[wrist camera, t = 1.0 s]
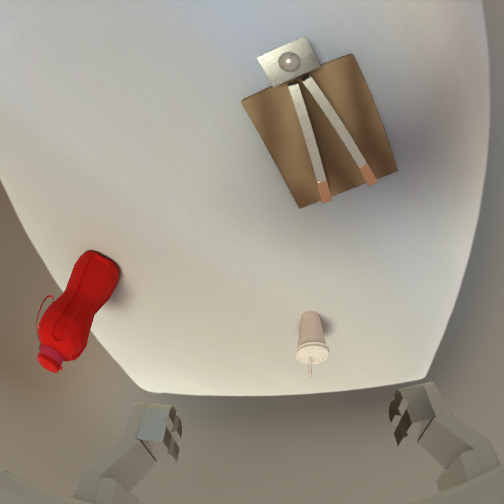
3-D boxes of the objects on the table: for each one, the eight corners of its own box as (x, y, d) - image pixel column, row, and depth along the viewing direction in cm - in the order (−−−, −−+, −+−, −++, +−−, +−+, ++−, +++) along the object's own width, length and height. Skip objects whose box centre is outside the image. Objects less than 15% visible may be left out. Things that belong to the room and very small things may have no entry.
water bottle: (78, 239, 56) (13, 335, 36) (124, 264, 59) (71, 370, 39) (72, 268, 61) (18, 358, 42) (115, 290, 64) (69, 388, 44)
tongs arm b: (286, 82, 35) (287, 86, 32) (296, 80, 35) (298, 83, 32) (319, 189, 44) (322, 203, 41) (327, 187, 44) (331, 200, 41)
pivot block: (301, 37, 33) (305, 36, 28) (315, 63, 35) (321, 67, 30) (259, 56, 35) (256, 58, 30) (274, 81, 37) (273, 87, 32)
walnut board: (350, 53, 33) (353, 54, 32) (394, 167, 43) (397, 171, 41) (242, 100, 39) (240, 101, 38) (298, 204, 48) (299, 208, 47)
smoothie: (290, 311, 63) (290, 370, 52) (320, 303, 61) (325, 362, 50) (300, 329, 66) (301, 386, 55) (329, 322, 64) (334, 379, 53)
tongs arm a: (300, 78, 35) (302, 82, 32) (308, 73, 34) (311, 76, 31) (362, 173, 42) (369, 186, 39) (370, 169, 42) (377, 181, 38)
